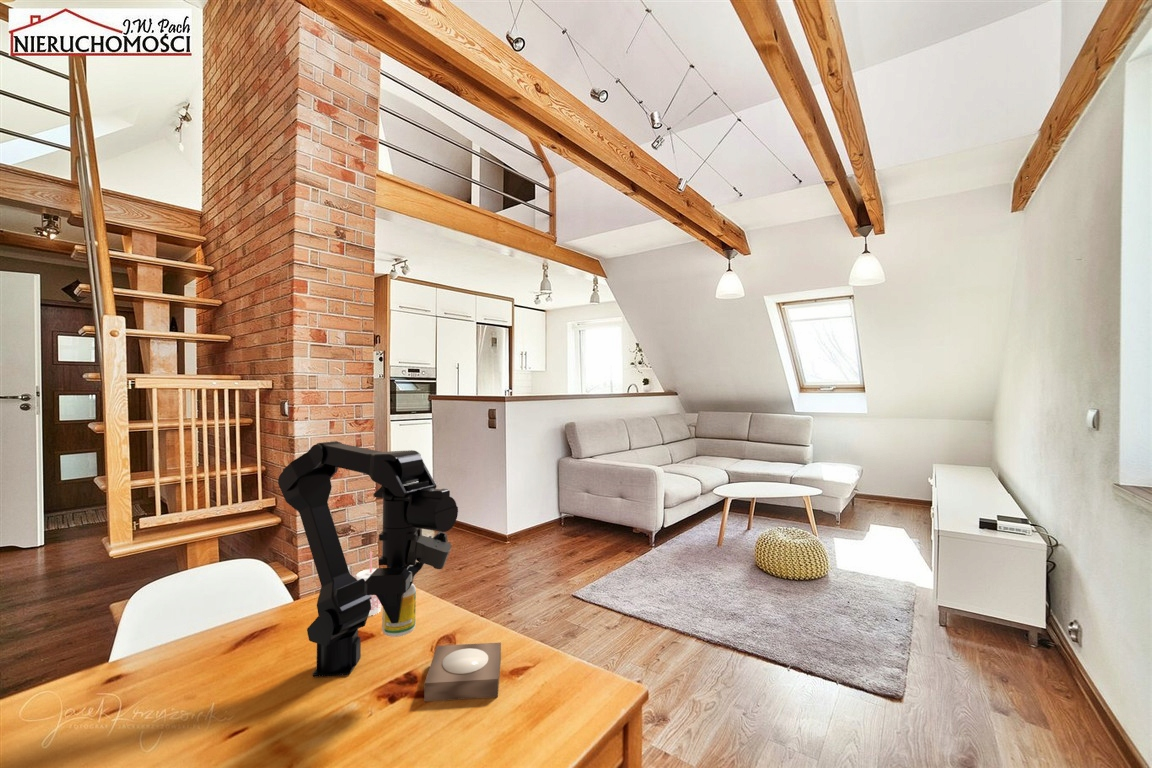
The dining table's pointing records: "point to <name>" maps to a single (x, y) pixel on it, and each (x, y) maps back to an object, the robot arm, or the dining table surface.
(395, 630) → the supplement bottle
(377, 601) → the beverage cup
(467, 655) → the brown flat square block
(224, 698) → the dining table surface
